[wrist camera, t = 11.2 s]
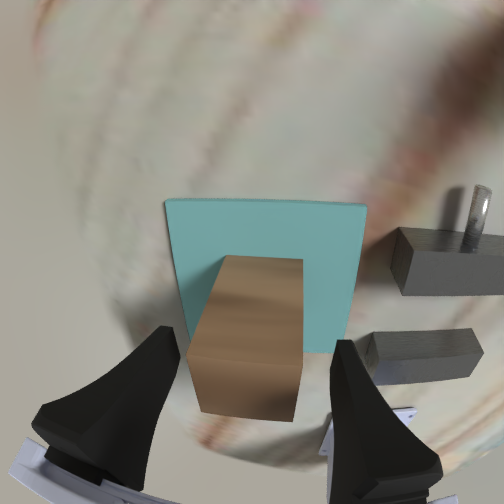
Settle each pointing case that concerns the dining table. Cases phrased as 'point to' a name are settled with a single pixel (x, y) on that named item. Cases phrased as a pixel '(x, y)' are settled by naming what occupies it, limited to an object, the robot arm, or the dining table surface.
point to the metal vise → (439, 284)
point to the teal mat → (271, 253)
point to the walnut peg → (251, 340)
